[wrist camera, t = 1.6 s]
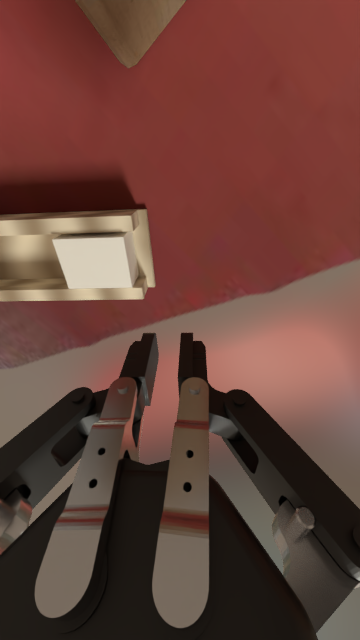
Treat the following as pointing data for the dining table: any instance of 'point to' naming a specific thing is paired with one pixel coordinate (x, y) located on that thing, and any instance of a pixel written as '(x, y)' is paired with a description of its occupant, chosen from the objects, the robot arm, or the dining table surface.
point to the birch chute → (42, 261)
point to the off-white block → (97, 259)
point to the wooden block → (129, 24)
